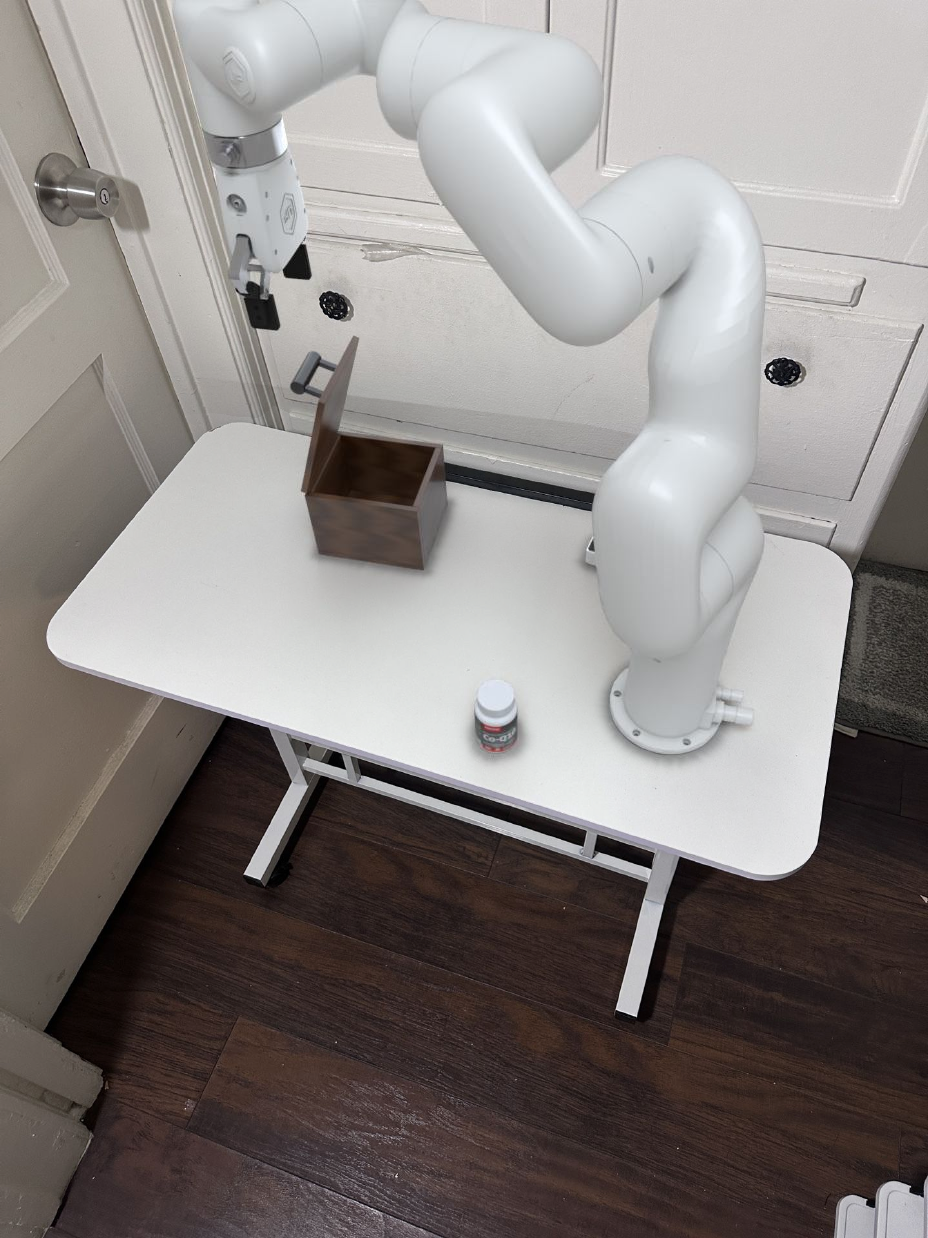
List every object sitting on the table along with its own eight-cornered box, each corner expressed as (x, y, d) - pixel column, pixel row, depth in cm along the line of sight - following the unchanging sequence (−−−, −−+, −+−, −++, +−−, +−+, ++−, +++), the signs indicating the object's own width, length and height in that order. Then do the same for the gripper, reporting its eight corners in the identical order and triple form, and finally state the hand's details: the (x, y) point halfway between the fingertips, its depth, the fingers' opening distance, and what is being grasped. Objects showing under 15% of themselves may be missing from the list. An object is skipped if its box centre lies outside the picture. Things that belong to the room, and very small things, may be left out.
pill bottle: (482, 759, 102) (480, 718, 96) (470, 724, 105) (467, 682, 99) (523, 748, 103) (523, 707, 96) (510, 714, 106) (510, 672, 99)
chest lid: (359, 337, 109) (319, 321, 109) (324, 403, 102) (282, 387, 101) (339, 428, 121) (303, 414, 121) (306, 494, 114) (268, 479, 114)
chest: (447, 504, 128) (443, 444, 119) (423, 570, 120) (417, 511, 112) (348, 489, 130) (336, 430, 122) (318, 554, 123) (304, 495, 114)
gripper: (248, 187, 81) (286, 352, 94) (314, 102, 91) (340, 262, 105) (170, 181, 82) (219, 345, 96) (244, 98, 93) (279, 257, 106)
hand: (282, 302), depth 100 cm, fingers open, 9 cm apart
